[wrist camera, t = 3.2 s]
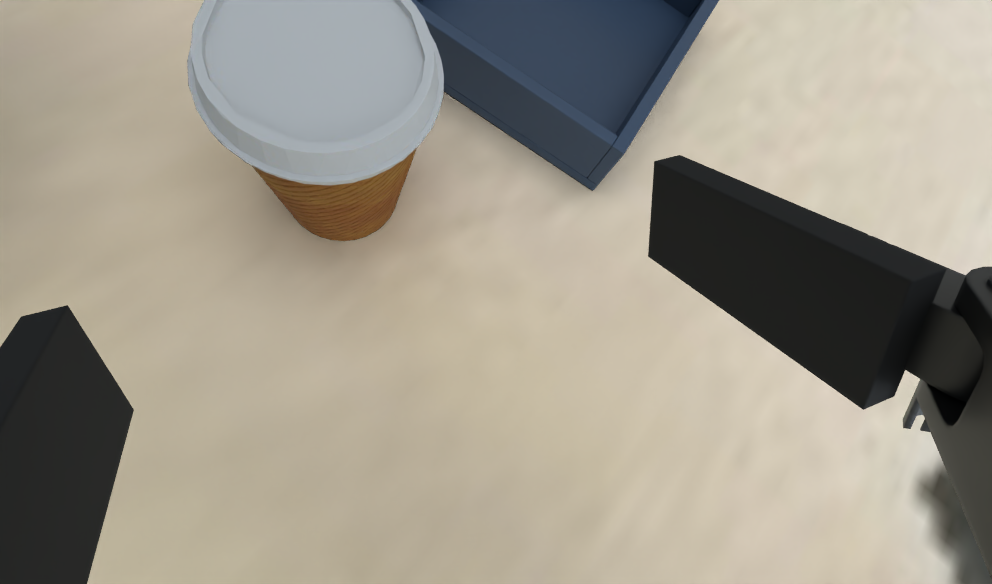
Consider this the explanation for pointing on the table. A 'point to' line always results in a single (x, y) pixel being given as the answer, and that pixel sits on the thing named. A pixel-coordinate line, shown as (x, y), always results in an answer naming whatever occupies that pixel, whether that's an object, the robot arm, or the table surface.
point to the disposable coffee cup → (319, 100)
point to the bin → (564, 69)
